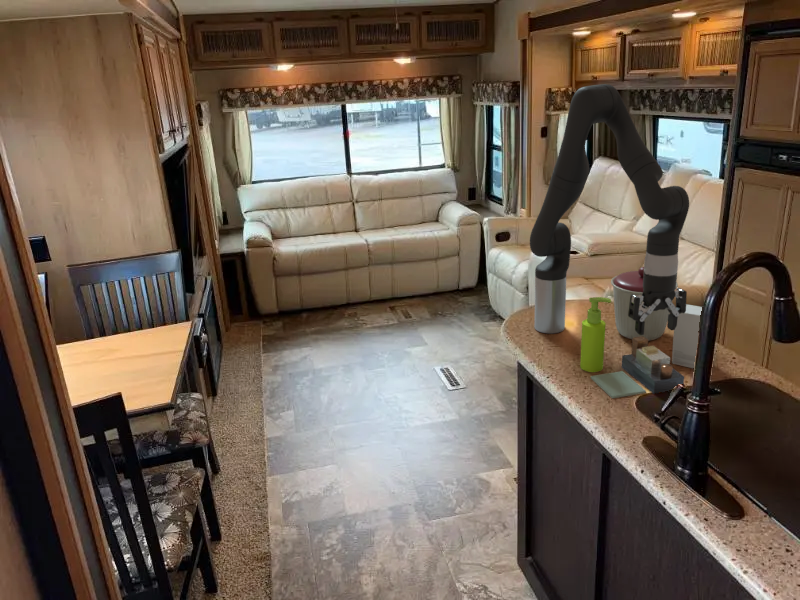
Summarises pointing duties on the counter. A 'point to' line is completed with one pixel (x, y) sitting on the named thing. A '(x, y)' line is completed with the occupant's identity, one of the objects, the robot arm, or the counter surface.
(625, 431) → the counter surface
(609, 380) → the rubber mat
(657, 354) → the lever cap
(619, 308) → the canister
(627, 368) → the hand plane
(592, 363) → the soap dispenser
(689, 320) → the skincare box
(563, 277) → the robot arm
